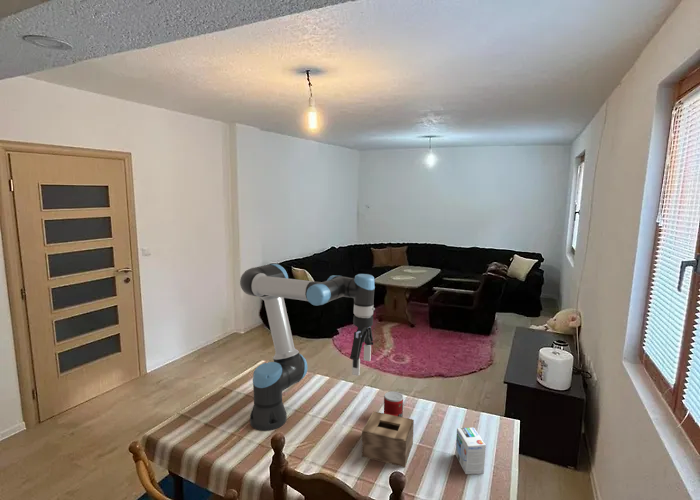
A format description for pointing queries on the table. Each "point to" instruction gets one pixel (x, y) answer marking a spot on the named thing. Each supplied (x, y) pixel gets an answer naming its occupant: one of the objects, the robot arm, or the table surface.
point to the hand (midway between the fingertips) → (361, 367)
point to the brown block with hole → (387, 438)
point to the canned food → (393, 404)
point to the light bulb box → (470, 450)
